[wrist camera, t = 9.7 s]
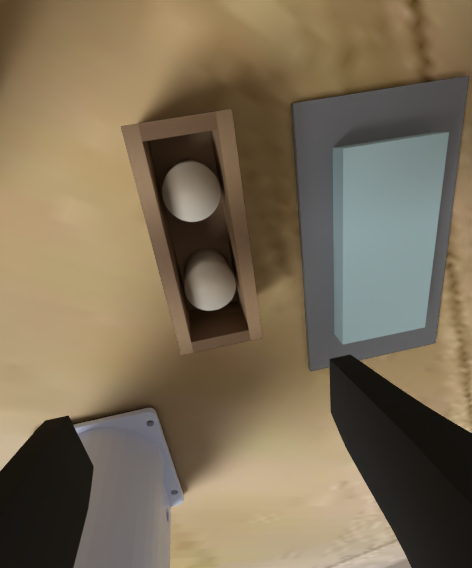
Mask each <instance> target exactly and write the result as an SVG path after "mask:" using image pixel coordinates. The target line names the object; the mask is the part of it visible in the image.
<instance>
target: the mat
mask: <svg viewBox="0 0 472 568" xmlns="http://www.w3.org/2000/svg"><path fill="white" fill-rule="evenodd" d="M468 81H469V76H463V77H457V78H451V79H444V80H438V81H432V82H425V83H419V84H413V85H406V86H400V87H393V88H387V89H381V90H374V91H368V92H362V93H355V94H349V95H343V96H336V97H330V98H324V99H317V100H311V101H305V102H298V103H292V104H291V108H292V123H293V138H294V152H295V167H296V182H297V197H298V211H299V226H300V241H301V256H302V270H303V285H304V300H305V315H306V329H307V344H308V359H309V369H310V371H315V370H319V369H323V368H328V367H330V362H329V359H331V358H336V357H341V356H345V355H352V356H353V357H355V358H356V359H358V360H363V359H367V358H372V357H376V356H381V355H385V354H389V353H394V352H398V351H403V350H407V349H411V348H416V347H420V346H425V345H429V344H433V343H436V335H437V327H438V319H439V311H440V303H441V295H442V287H443V279H444V271H445V264H446V256H447V248H448V240H449V232H450V224H451V216H452V208H453V200H454V192H455V184H456V176H457V168H458V160H459V152H460V144H461V136H462V128H463V121H464V113H465V105H466V97H467V89H468ZM432 132H449V137H448V145H447V153H446V161H445V170H444V178H443V186H442V194H441V202H440V210H439V218H438V226H437V234H436V242H435V251H434V259H433V267H432V275H431V283H430V291H429V299H428V307H427V315H426V323H425V328H420V329H415V330H410V331H406V332H401V333H396V334H391V335H386V336H382V337H377V338H372V339H367V340H363V341H358V342H353V343H348V344H342V343H341V342H340V341H339V339H338V338H337V337H336V336H335V334H334V238H333V148H334V147H341V146H347V145H354V144H360V143H367V142H373V141H380V140H386V139H393V138H399V137H406V136H412V135H419V134H425V133H432Z"/></svg>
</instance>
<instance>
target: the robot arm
mask: <svg viewBox="0 0 472 568" xmlns="http://www.w3.org/2000/svg"><path fill="white" fill-rule="evenodd" d="M329 362H330V398H331V414H332V416H333V418H334V421H335V423H336V426H337V428H338V430H339V433H340V435H341V437H342V440H343V442H344V444H345V446H346V448H347V450H348V452H349V454H350V456H351V457H352V459H353V461H354V463H355V464H356V466H357V468H358V470H359V472H360V473H361V475H362V477H363V479H364V480H365V482H366V484H367V486H368V487H369V489H370V491H371V493H372V494H373V496H374V498H375V500H376V502H377V503H378V505H379V507H380V509H381V510H382V512H383V514H384V516H385V517H386V519H387V521H388V523H389V524H390V526H391V528H392V530H393V531H394V533H395V535H396V537H397V539H398V541H399V543H400V545H401V547H402V549H403V551H404V552H405V555H406V557H407V559H408V561H409V563H410V565H411V567H412V568H472V433H470V432H469V431H467V430H465V429H463V428H462V427H460V426H458V425H457V424H455V423H453V422H452V421H450V420H448V419H446V418H445V417H443V416H441V415H440V414H438V413H436V412H435V411H433V410H432V409H430V408H428V407H427V406H425V405H424V404H422V403H421V402H419V401H418V400H416V399H415V398H413V397H411V396H410V395H408V394H407V393H405V392H404V391H402V390H401V389H399V388H398V387H396V386H395V385H393V384H392V383H391V382H389V381H388V380H386V379H385V378H383V377H382V376H380V375H379V374H378V373H376V372H375V371H373V370H372V369H370V368H369V367H368V366H366V365H365V364H363V363H362V362H360V361H359V360H358V359H356V358H355V357H353V356H352V355H345V356H341V357H336V358H331V359H329ZM149 420H152V422H149ZM183 501H184V494H183V491H182V488H181V485H180V482H179V479H178V476H177V473H176V470H175V467H174V464H173V461H172V458H171V455H170V452H169V449H168V446H167V443H166V440H165V437H164V434H163V431H162V428H161V425H160V422H159V419H158V416H157V413H156V411H155V410H154V409H153V408H145V409H140V410H136V411H131V412H127V413H123V414H118V415H114V416H109V417H105V418H101V419H96V420H92V421H87V422H83V423H79V424H74V425H73V423H72V421H71V419H70V417H69V416H65V417H60V418H55V419H51V420H46V421H45V422H44V423H43V424H42V425H41V426H40V427H39V428H38V429H37V430H36V431H35V432H34V433H33V434H32V435H31V436H30V438H29V439H28V440H27V441H26V442H25V444H24V445H23V446H22V447H21V448H20V449H19V450H18V452H17V453H16V454H15V455H14V456H13V457H12V458H11V460H10V461H9V462H8V463H7V464H6V465H5V467H4V468H3V469H2V470H1V471H0V568H170V522H171V506H175V505H179V504H181V503H182V502H183Z"/></svg>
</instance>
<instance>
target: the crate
mask: <svg viewBox="0 0 472 568" xmlns="http://www.w3.org/2000/svg"><path fill="white" fill-rule="evenodd" d="M121 129H122V133H123V137H124V141H125V144H126V148H127V152H128V156H129V160H130V163H131V167H132V171H133V175H134V179H135V182H136V186H137V190H138V194H139V197H140V201H141V205H142V209H143V213H144V216H145V220H146V224H147V228H148V232H149V235H150V239H151V243H152V247H153V251H154V254H155V258H156V262H157V266H158V270H159V273H160V277H161V281H162V285H163V289H164V292H165V296H166V300H167V304H168V308H169V311H170V315H171V319H172V323H173V326H174V330H175V334H176V338H177V342H178V345H179V349H180V353H181V355H186V354H190V353H195V352H200V351H204V350H209V349H213V348H218V347H223V346H227V345H232V344H237V343H241V342H246V341H251V340H255V339H260V338H263V337H262V330H261V323H260V315H259V308H258V300H257V293H256V285H255V278H254V270H253V263H252V256H251V248H250V241H249V233H248V226H247V218H246V211H245V204H244V196H243V189H242V181H241V174H240V166H239V159H238V151H237V144H236V137H235V129H234V122H233V114H232V109H227V110H221V111H215V112H208V113H202V114H195V115H189V116H183V117H176V118H170V119H164V120H157V121H151V122H144V123H138V124H132V125H125V126H121Z"/></svg>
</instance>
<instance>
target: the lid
mask: <svg viewBox="0 0 472 568" xmlns="http://www.w3.org/2000/svg"><path fill="white" fill-rule="evenodd" d="M448 137H449V132H432V133H425V134H419V135H412V136H406V137H399V138H393V139H386V140H380V141H373V142H367V143H360V144H354V145H347V146H341V147H334V148H333V238H334V334H335V336H336V337H337V338H338V339H339V341H340V342H341V343H342V344H348V343H353V342H358V341H363V340H367V339H372V338H377V337H382V336H386V335H391V334H396V333H401V332H406V331H410V330H415V329H420V328H425V323H426V315H427V307H428V299H429V291H430V283H431V275H432V267H433V259H434V251H435V242H436V234H437V226H438V218H439V210H440V202H441V194H442V186H443V178H444V170H445V161H446V153H447V145H448Z"/></svg>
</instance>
